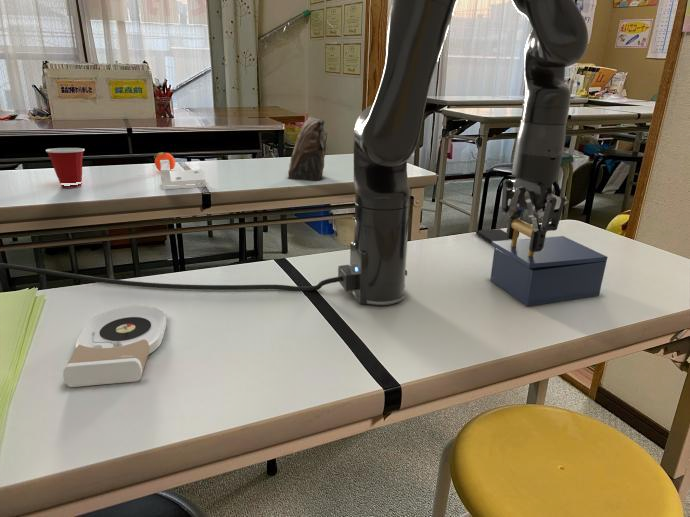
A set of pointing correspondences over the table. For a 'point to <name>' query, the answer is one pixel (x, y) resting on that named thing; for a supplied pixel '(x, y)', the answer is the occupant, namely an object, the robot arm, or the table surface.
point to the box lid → (545, 249)
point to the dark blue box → (546, 280)
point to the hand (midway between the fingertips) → (523, 244)
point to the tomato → (164, 157)
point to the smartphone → (493, 235)
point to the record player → (115, 346)
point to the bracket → (180, 177)
